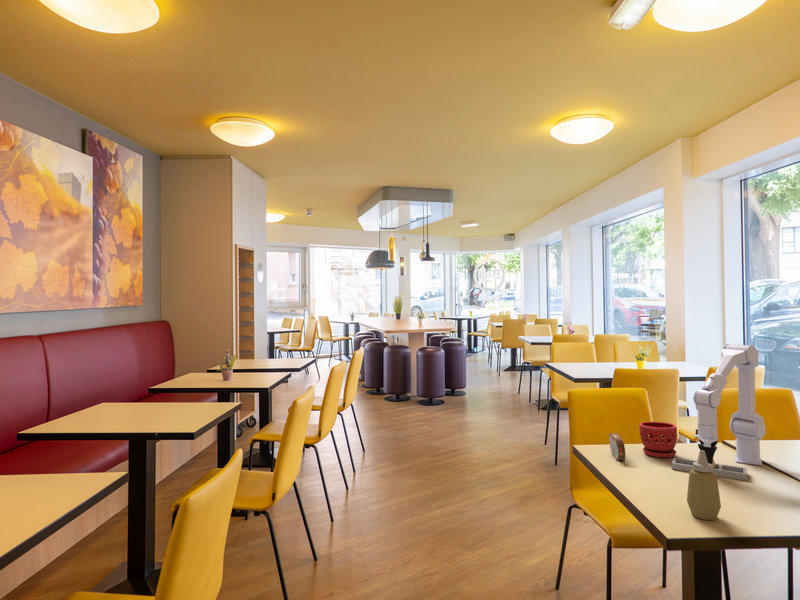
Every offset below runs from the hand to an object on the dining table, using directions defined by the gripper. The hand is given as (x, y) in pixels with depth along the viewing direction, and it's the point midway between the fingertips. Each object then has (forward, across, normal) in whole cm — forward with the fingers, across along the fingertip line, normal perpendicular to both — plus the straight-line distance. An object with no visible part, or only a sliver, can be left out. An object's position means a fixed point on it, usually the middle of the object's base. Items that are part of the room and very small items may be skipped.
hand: (708, 462), depth 170 cm
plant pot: (+3, -13, -17) cm, 22 cm away
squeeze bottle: (+3, +44, 0) cm, 44 cm away
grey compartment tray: (+3, 0, 0) cm, 3 cm away
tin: (+3, -1, -30) cm, 30 cm away
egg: (+2, 0, 0) cm, 2 cm away
